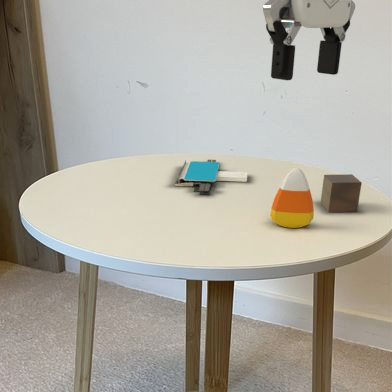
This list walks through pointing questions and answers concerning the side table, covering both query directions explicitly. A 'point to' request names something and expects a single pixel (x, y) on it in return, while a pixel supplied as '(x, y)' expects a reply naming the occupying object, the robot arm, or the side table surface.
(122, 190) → the side table surface
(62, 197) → the side table surface
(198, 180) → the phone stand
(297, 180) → the candy corn
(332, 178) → the walnut block
